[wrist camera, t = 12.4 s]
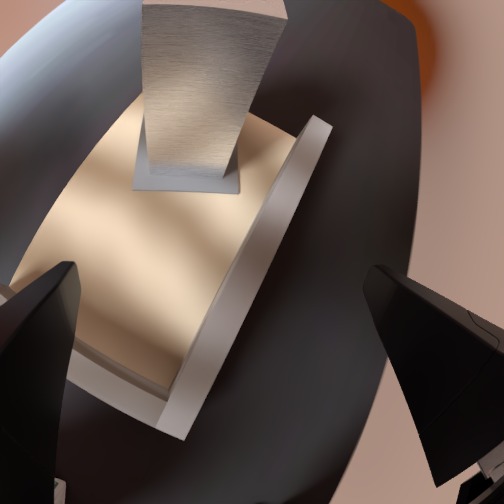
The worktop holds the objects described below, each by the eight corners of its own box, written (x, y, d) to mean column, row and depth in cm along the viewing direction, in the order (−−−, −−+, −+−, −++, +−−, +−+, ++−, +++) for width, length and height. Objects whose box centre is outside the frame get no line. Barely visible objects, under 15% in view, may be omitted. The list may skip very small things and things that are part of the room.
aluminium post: (222, 178, 19) (287, 19, 8) (149, 175, 18) (142, 4, 6) (222, 121, 20) (274, -30, 9) (157, 117, 19) (166, -43, 7)
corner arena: (181, 417, 16) (184, 440, 12) (6, 308, 15) (-27, 303, 11) (308, 155, 22) (332, 126, 19) (161, 81, 21) (163, 44, 17)
